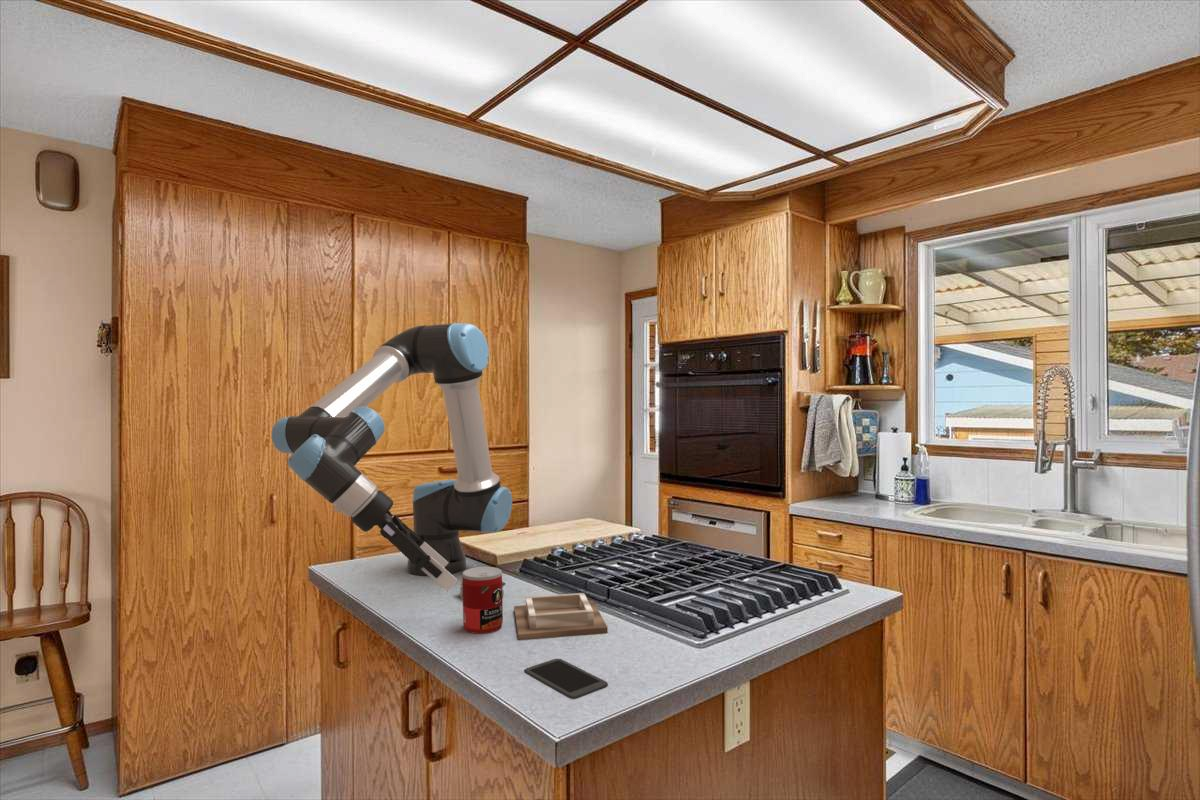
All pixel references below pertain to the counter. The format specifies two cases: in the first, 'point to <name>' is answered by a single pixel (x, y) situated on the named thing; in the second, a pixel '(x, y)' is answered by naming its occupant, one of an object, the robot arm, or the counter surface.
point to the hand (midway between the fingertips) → (447, 576)
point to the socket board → (558, 616)
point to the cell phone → (566, 678)
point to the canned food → (482, 599)
